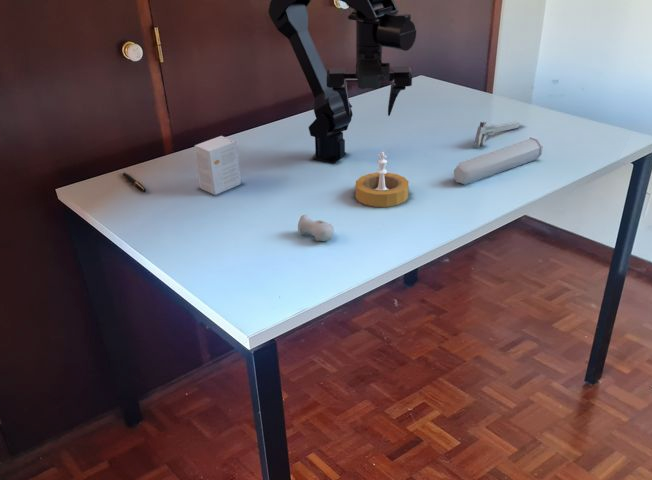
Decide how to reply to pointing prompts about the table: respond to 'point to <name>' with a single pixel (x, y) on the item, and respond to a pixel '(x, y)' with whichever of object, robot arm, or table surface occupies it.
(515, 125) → the caliper
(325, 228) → the pale two-lobed sculpture
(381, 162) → the chess piece
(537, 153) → the tube
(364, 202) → the tape roll
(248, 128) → the table surface
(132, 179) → the fountain pen
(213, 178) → the small box
